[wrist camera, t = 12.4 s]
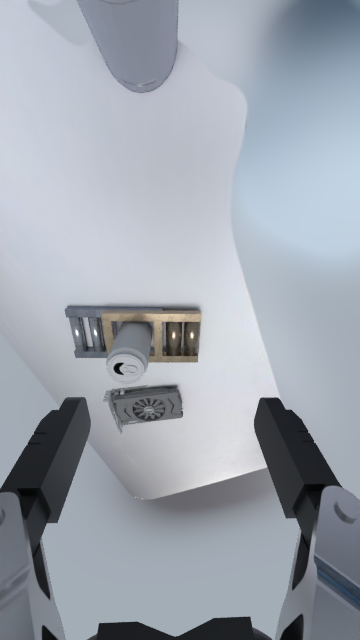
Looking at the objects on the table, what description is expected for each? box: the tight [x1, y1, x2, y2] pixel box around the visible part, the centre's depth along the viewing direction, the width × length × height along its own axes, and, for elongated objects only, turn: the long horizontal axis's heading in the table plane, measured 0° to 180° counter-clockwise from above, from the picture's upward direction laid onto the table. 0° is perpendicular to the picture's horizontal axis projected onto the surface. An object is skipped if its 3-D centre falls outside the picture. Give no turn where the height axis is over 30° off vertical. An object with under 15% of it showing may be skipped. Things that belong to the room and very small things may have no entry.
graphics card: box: [103, 385, 183, 433], centre depth 53 cm, size 17×4×12 cm
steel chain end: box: [65, 307, 163, 358], centre depth 44 cm, size 11×18×2 cm, turn 89°
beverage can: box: [107, 321, 152, 384], centre depth 40 cm, size 6×6×12 cm
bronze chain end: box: [101, 310, 201, 362], centre depth 44 cm, size 11×18×3 cm, turn 89°
